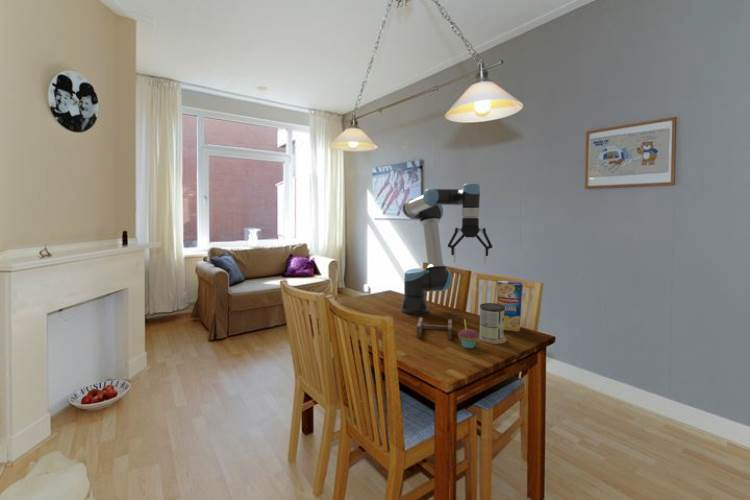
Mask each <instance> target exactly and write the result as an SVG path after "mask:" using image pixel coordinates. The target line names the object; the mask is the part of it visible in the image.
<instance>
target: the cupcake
mask: <svg viewBox="0 0 750 500" xmlns="http://www.w3.org/2000/svg"><path fill="white" fill-rule="evenodd" d="M463 323H464V329H462V330H460V331H458V334H457V335H458V339H460V341H461V345H462V347H463V348H465V349H473V348H475V345H476V343H477V341H480V340H479V339H480V336H479V334H480V332H479V333H478V332H477V331H476V330H475V329H472V328H468V327H467V321H466V319H465V317H463Z"/></svg>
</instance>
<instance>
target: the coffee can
mask: <svg viewBox="0 0 750 500" xmlns="http://www.w3.org/2000/svg"><path fill="white" fill-rule="evenodd" d="M504 309H505V307H504V306H503V305H500V304H497V303H494V302H485V303H481V304H480V305H479V334H480V335H479V336H480V338H482V339H484V340H488V341H501V340H503V336H504V331H505V330H504Z"/></svg>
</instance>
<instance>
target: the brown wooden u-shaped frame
mask: <svg viewBox="0 0 750 500" xmlns="http://www.w3.org/2000/svg"><path fill="white" fill-rule="evenodd" d="M423 329H427V330H439V331H440V330H441V331H447V340H448V341H452V337H453V336H452V334H453V333H452V329H453V319H452V318H451V319H450V318H448V322H447V325H439V324H438V325H436V324H424V317H422V316H421V317H419V318H418V322H417V324H416V338H418V339H419V338H421V336H422V333H423Z"/></svg>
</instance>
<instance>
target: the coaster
mask: <svg viewBox="0 0 750 500" xmlns="http://www.w3.org/2000/svg"><path fill="white" fill-rule="evenodd" d="M479 335H480V333H479ZM478 341H480V342H483V343H485V344H491V345H502V344H505V343H507V337H506V336H505V335H503V340H501V341H488V340H484V339H482V338H480V339H479V340H478Z"/></svg>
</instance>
